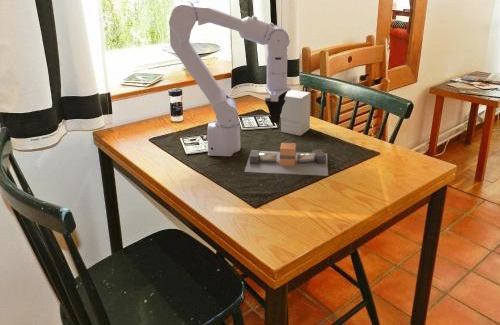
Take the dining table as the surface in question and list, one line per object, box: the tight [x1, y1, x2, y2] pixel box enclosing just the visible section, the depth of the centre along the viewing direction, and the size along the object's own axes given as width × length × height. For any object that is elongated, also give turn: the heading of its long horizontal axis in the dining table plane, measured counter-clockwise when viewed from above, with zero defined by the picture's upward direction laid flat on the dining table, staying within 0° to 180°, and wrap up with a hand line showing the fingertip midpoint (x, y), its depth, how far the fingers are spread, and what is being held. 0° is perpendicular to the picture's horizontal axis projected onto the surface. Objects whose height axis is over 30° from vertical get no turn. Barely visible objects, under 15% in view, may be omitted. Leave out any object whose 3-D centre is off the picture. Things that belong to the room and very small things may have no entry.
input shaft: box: [249, 149, 277, 164], centre depth 125 cm, size 7×4×3 cm, turn 82°
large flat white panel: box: [243, 150, 329, 177], centre depth 125 cm, size 22×14×1 cm, turn 82°
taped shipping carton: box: [279, 142, 297, 166], centre depth 124 cm, size 4×4×5 cm
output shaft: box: [297, 148, 326, 164], centre depth 125 cm, size 7×4×3 cm, turn 102°
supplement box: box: [280, 89, 312, 136], centre depth 147 cm, size 7×7×13 cm
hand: (276, 118), depth 131 cm, fingers open, 7 cm apart
